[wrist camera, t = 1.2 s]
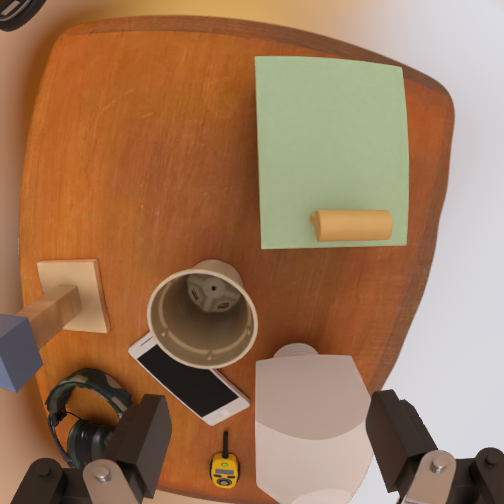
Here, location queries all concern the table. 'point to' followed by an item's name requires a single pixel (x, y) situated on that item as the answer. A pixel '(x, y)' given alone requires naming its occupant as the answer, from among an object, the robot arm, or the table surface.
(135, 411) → the robot arm
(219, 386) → the smartphone
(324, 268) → the table surface
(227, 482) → the yellow walkie talkie
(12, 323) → the block
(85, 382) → the headphones
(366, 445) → the light fixture
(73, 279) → the post
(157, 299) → the flower pot
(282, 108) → the lid
